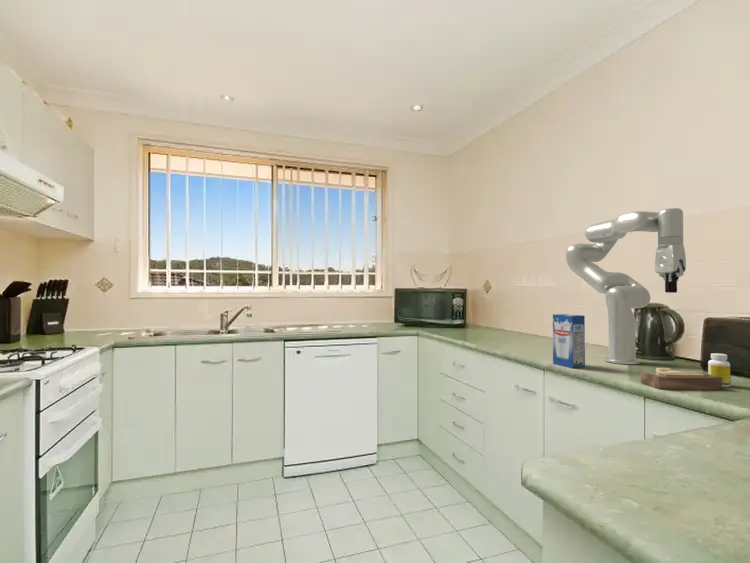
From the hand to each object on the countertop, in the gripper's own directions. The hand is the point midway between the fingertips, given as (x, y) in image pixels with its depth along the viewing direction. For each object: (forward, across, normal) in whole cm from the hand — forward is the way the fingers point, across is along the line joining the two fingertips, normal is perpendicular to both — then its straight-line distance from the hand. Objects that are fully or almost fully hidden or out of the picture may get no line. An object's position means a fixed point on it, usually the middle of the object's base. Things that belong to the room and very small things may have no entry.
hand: (671, 292), depth 148 cm
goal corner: (+29, +21, -13) cm, 38 cm away
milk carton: (+29, -12, -32) cm, 45 cm away
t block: (+29, +18, -13) cm, 37 cm away
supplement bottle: (+29, +20, 0) cm, 35 cm away
